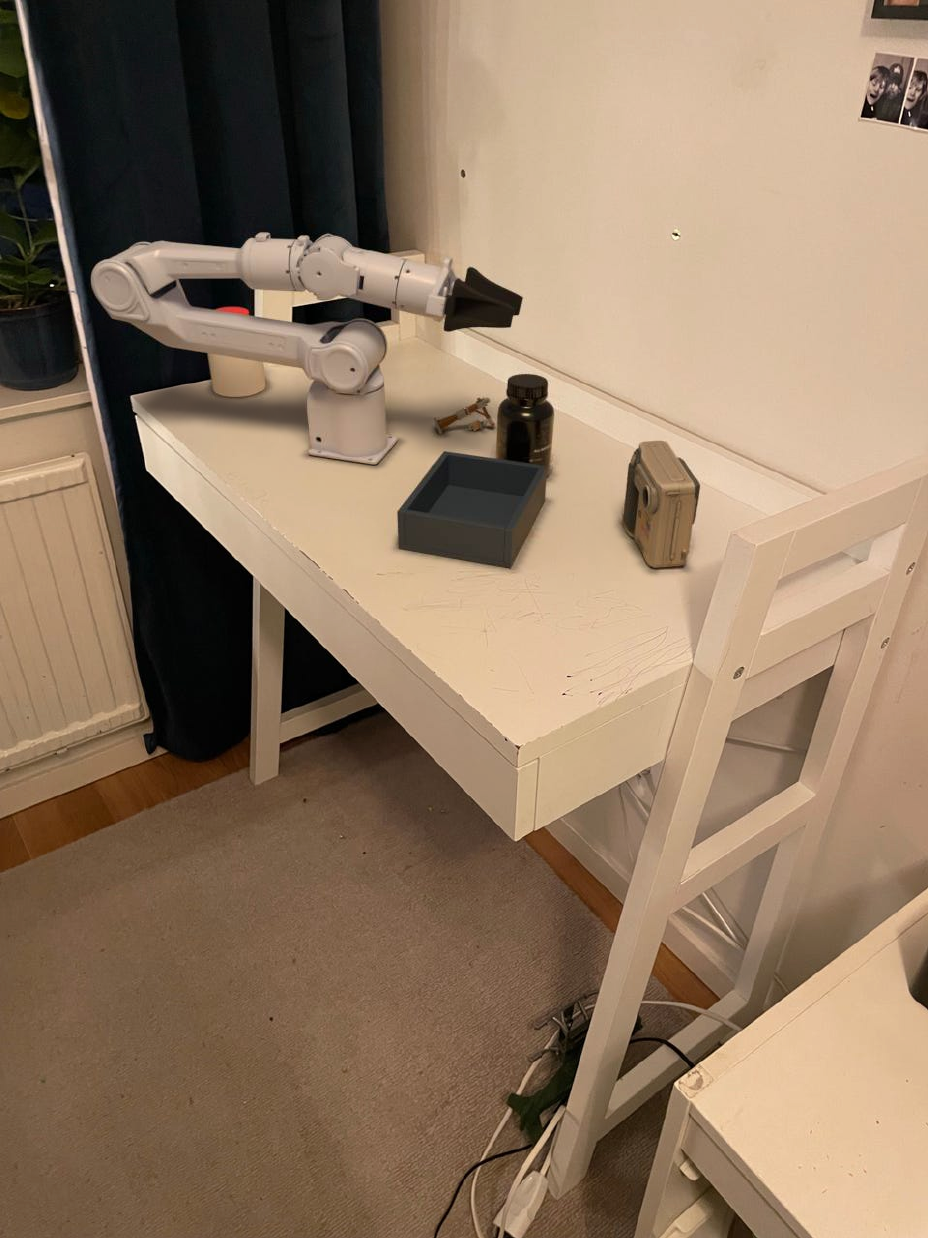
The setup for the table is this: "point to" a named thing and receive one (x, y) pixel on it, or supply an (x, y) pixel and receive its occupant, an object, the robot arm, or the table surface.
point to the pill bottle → (235, 370)
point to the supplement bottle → (525, 422)
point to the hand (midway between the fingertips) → (516, 311)
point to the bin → (473, 509)
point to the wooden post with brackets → (463, 413)
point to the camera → (660, 504)
